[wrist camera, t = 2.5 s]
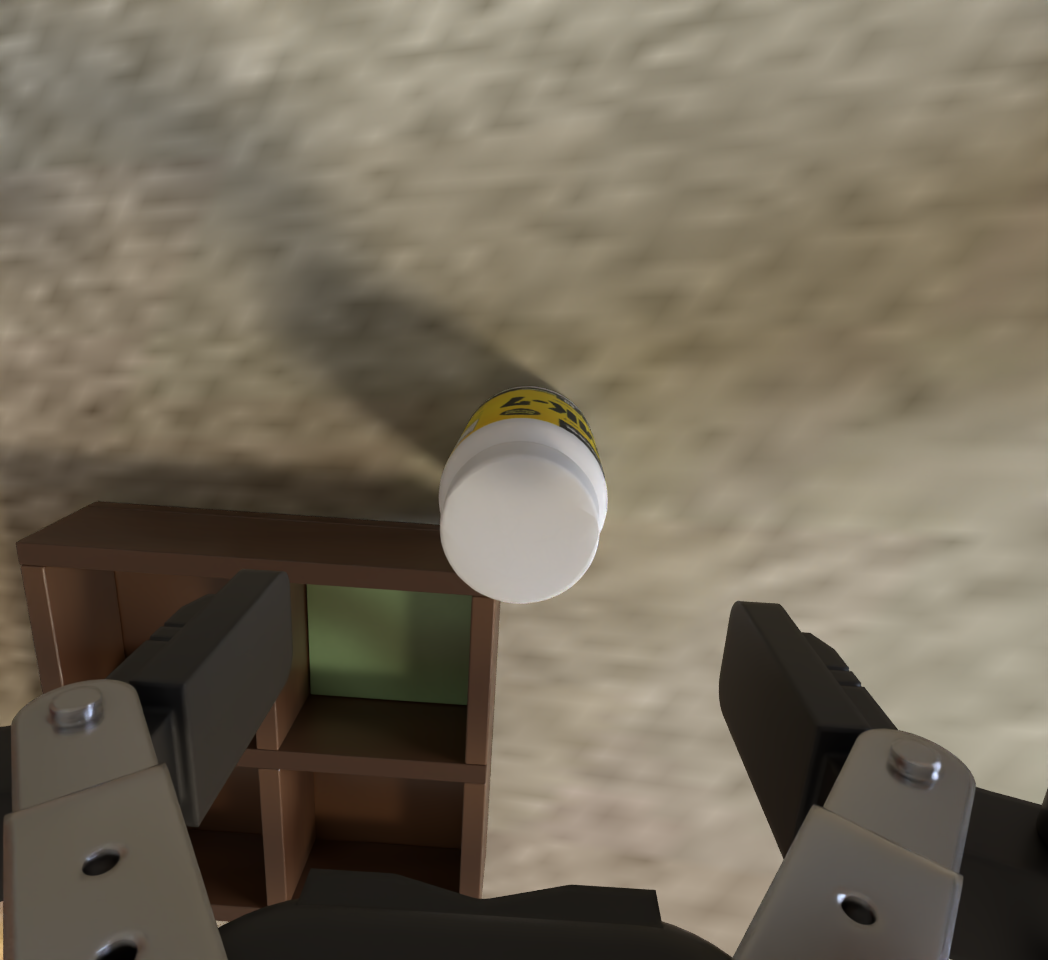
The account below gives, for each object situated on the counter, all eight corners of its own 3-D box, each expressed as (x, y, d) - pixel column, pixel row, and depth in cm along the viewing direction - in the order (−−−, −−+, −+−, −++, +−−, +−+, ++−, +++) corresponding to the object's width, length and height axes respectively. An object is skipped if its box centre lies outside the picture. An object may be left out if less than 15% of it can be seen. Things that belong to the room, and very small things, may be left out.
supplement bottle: (618, 421, 24) (654, 497, 16) (555, 530, 25) (561, 650, 17) (498, 359, 24) (475, 404, 16) (441, 473, 25) (392, 569, 17)
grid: (95, 500, 26) (14, 542, 22) (504, 528, 25) (497, 575, 22) (139, 828, 30) (79, 911, 26) (486, 853, 30) (477, 940, 26)
